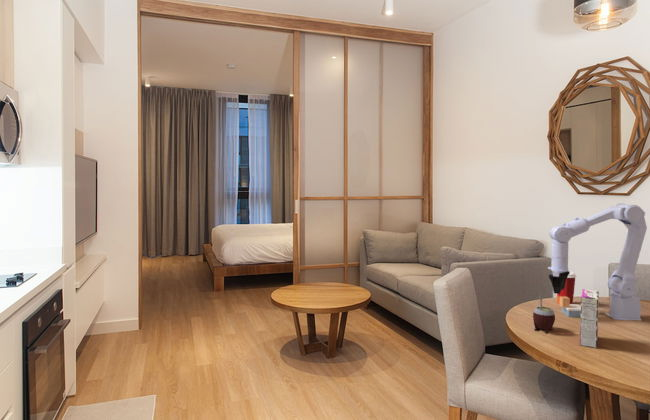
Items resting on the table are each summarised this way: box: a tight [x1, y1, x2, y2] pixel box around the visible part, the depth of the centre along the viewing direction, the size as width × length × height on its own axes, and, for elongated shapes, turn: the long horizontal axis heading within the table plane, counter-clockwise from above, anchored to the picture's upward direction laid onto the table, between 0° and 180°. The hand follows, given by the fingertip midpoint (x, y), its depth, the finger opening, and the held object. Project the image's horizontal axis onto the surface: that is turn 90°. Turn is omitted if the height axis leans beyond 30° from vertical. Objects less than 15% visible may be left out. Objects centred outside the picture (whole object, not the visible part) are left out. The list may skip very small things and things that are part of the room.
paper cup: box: [556, 271, 577, 305], centre depth 187 cm, size 8×8×14 cm
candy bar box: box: [579, 288, 600, 349], centre depth 145 cm, size 11×5×16 cm, turn 148°
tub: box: [561, 307, 581, 318], centre depth 173 cm, size 8×6×3 cm
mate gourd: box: [532, 292, 556, 335], centre depth 156 cm, size 8×8×15 cm
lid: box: [559, 297, 581, 311], centre depth 172 cm, size 10×7×5 cm
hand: (559, 291), depth 172 cm, fingers open, 7 cm apart
